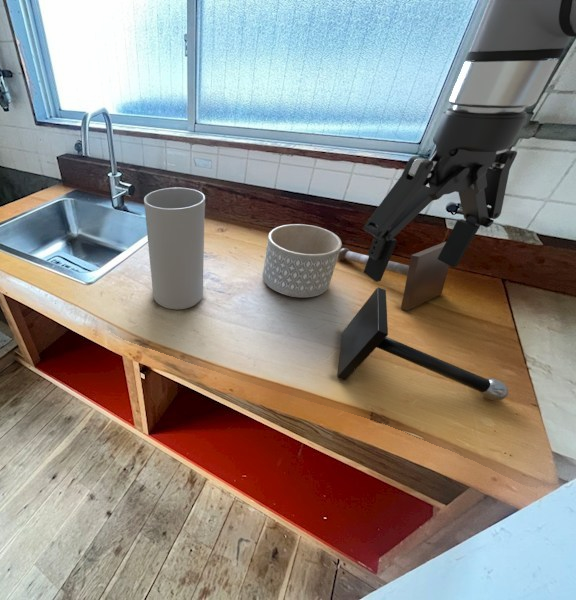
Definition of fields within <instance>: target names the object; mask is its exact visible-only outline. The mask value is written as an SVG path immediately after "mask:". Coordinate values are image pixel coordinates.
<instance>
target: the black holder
mask: <svg viewBox="0 0 576 600" xmlns="http://www.w3.org/2000/svg"><path fill="white" fill-rule="evenodd" d="M388 329H389V326H388V306H387V290H386V289H384V288H382V287H379V286H377V287H376V288H375V290H374V291H373V292H372V293H371V294H370V296H369V297H368V298H367V300H366V301H365V303H364V304H363V305H362V307H361V308H360V309H359V310H358V312H357V313H356V314H355V315H354V317H353V318H352V319H351V320H350V321H349V323H348V324H347V326H346V327H345V328H344V329H343V331H342V332H341V337H340V347H339V355H338V365H337V374H336V378H338V379H340V380H342V381H344V382H346V380H348V379H349V377H350V376H351V375H352V374H353V373H354V372H355V371H356V370H357V369H358V368H359V366H360V365H361V364H363V362H364V361H365V360H366V359H367V358H368V357H369V356H370V355H371V353H373V352H374V350H376V348H377V349H379V350H382V351H383V352H386V353H389V354H391V355H393V356H396V357H398V358H401V359H403V360H405V361H408V362H410V363H412V364H414V365H417V366H419V367H422V368H423V369H426V370H428V371H431V372H433V373H436V374H437V375H440V376H443V377H444V378H447V379H449V380H452V381H454V382H457V383H459V384H460V385H464V386H466V387H467V388H470V389H473V390H474V391H477V392H479V394H480V395H481V396H482V397H483V398H485V399H487V400H489V401H495V402H497V401H502V400H504V399H506V398H507V396H508V395H509V389H508V386H507V385H506V383H504V382H503V381H501V380H499V379H497V378H491V377H490V378H485V377H483V376H481V375H478V374H476V373H474V372H471V371H468V370H466V369H464V368H461V367H460V366H457V365H455V364H452V363H449V362H448V361H445V360H443V359H440V358H438V357H435V356H433V355H431V354H429V353H426V352H423V351H421V350H419V349H416V348H414V347H412V346H409V345H406V344H404V343H402V342H399V341H397V340H395V339H393V338H390V337H388V335H389V330H388Z"/></svg>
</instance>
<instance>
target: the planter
mask: <svg viewBox="0 0 576 600" xmlns="http://www.w3.org/2000/svg"><path fill="white" fill-rule="evenodd" d="M342 245H343V243H342V240H341V238H340V237H339V236H338V235H337V234H336V233H334V232H333V231H331V230H328V229H326V228H323V227H320V226H317V225H311V224H303V223H290V224H282V225H280V226H277V227H275V228H273V229H271V230H270V231H269V233H268V237H267V244H266V249H265V255H264V263H263V268H262V281H263V282H264V283H265V285H267V286H268V287H269V288H270V289H271V290H273V291H275V292H277V293H279V294H281V295H283V296H287V297H291V298H313V297H318V296H320V295H322V294H325V292H327V290H328V289H329V287H330V284H331V280H332V279H333V278H332V277H333V275H334V271H335V268H336V265H337V263H338V262H337V261H338V260H339V259H338V255H339V252H340V249H341V248H342Z"/></svg>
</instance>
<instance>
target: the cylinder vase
mask: <svg viewBox="0 0 576 600" xmlns="http://www.w3.org/2000/svg"><path fill="white" fill-rule="evenodd" d="M143 205H144V215H145V222H146V223H145V224H146V225H145V226H146V235H147V245H148V246H147V247H148V256H149V266H150V267H149V268H150V276H151V277H150V278H151V287H152V296H153V300H154V301H155V302H156V304H158V305H159V306H161V307H163V308H166V309H169V310H185V309H189V308H192V307H195V305H197V304H198V303H199V302H200V301H201V300H202V299H203V295H204V268H205V267H204V265H205V264H204V263H205V262H204V260H205V259H204V258H205V257H204V256H205V218H206V216H205V215H206V213H205V211H206V195H205V194H204V193H203V192H202V191H199V190H198V189H197V190H196V189H194V188H187V187H166V188H161V189H157V190H154V191H151V192H149V193H147V194H146V195H145V196H144V198H143Z"/></svg>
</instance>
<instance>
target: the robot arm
mask: <svg viewBox="0 0 576 600" xmlns="http://www.w3.org/2000/svg"><path fill="white" fill-rule="evenodd" d="M575 37H576V0H487V4H486V6H485V9H484V12H483V15H482V17H481V19H480V23H479V25H478V27H477V30H476V33H475V36H474V39H473V41H472V44H471V46H470V48H469V51H468V52H467V55H466V57H465V60H464V63H463V66H462V68H461V69H460V73H459V75H458V78H457V80H456V83H455V84H454V87H453V89H452V92H451V95H450V97H449V99H448V103H449V104H451V105H452V107H450V108H447V109H446V111H443V112H442V115H441V117H440V120H439V122H438V125H437V127H436V130H435V132H434V135H433V137H432V143H434V144H435V151H434V153H433V154H432V156H431V157H430V158H429V159H427V158H422V157H418V156H412V157H410V158H409V159H408V160H407V163H406V165H405V167H404V169H403V171H402V173H401V175H400V177H399V178H398V180H397V181H396V182H395V183H394V184H393V186H392V187H391V188H390V190H389V191H388V193H386V195H385V197H384V198H383V200H382V201H381V202H380V203H379V205H378V206H377V208H375V210H374V211H373V213H372V214H371V215H370V217H369V218H368V219H367V221H366V222H365V224H364V226H363V228H362V230H363V231H364V232H366V233H368V234H369V235H371V236H373V238H372V240H371V241H372V242H371V243H370V246H369V249H368V252H367V256H369V258H368V261H367V263H366V265H364V268H363V274H365V275H366V276H367V277H369V278H370V279H371V280H373V281H374V282H375V283H377V282H378V283H379V282H381V281H382V279H383V276H384V274H385V272H386V270H385V269H386V267H387V264H388V262H389V261H391V257H392V255H393V253H394V251H395V247H396V245H397V243H398V239H396V238H394V237H396V236H397V235H398V234H399V233H400V232H401V231H403V229H404V228H406V226H407V225H408V224H410V223H411V222H412V221H413V220H414V219H415V218H417V216H418V215H419V214H420V213H421V212H422V211H424V210H425V208H426V207H428V205H430V204H431V203H432V202H433V201H436V200H439V199H441V198H442V197H443V196H444V195H450V194H452V193H453V194H454V193H455V192H456V193H458V197H459V201H460V206H461V210H462V215H463V219H457V220H456V222H455V224H454V225H453V228H452V230H451V231H450V233H449V235H448V237H447V240H446V241H445V242H446V243H445V245H444V247H443V249H442V251H441V253H440V255H439V257H438V258H437V259H438V260H440V261H442V262H444V263H446V264H448V265H449V267H452V268H456V267H458V266H459V264H460V263H461V261H462V259H463V257H464V255H465V254H466V251H467V250H468V248H469V246H470V244H471V243H472V241H473V239H474V237H475V236H476V234H477V232H478V231H479V229H480V227H481V226H482V227H483V228H484V227H485V228H489V227H491V226H492V225H493V224H494V221H495V220H496V219H498V218H499V217H500V216H501V214H502V210H503V205H504V200H505V195H506V190H507V185H508V179H509V176H510V171H511V167H512V166H513V163H514V161H515V159H516V157H517V154H518V151H516V150H512V149H509V148H511V147H512V146H513V144H515V141H516V139H517V137H518V135H519V133H520V131H521V130H522V128H523V126H524V124H525V123H526V121H527V119H528V117H529V115H528V113H527V111H525V109H526V108H528V107H532V106H533V105H535V104H536V103H537V102H538V100H539V98H540V95H541V94H542V92H543V90H544V89H545V87H546V84H547V82H548V81H549V79H550V77H551V75H552V73H553V72H554V69H555V68H556V66H557V65H558V62H559V60H560V58H561V56H562V54H563V52H564V50H565V49H566V48H567V46H568V44H569V43H570V40H571V39H572V38H575Z"/></svg>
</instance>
